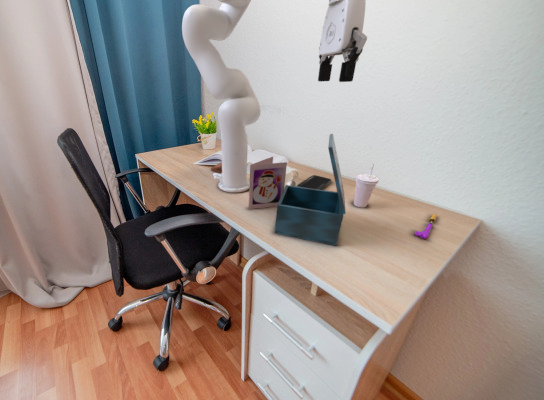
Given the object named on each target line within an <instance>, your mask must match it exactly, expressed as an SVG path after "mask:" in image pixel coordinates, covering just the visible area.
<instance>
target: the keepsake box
mask: <svg viewBox="0 0 544 400" xmlns="http://www.w3.org/2000/svg"><path fill="white" fill-rule="evenodd" d="M275 213H276V215H275V225H274V234H277V235H282V236H286V237H291V238H296V239H301V240H306V241H311V242H314V243H320V244H325V245H330V246H335V247H337V244H338V240H339V236H340V232H341V228H342V225H343V224H342V223H343V219H344V214H343V215H342V212H341V208H340V203H339V198H338V193H337V191H332V190H325V189H322V190H319V189H312V188H304V187H297V185H296V186H295V185H289V184H285V185H284V191H283V193H282V195H281V198H280V200H279V202H278V204H277V206H276V212H275Z"/></svg>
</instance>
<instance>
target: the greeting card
mask: <svg viewBox="0 0 544 400" xmlns="http://www.w3.org/2000/svg"><path fill="white" fill-rule="evenodd" d="M287 167H288V161H287V162H274V156H270V157H268V158H265V159H262V160H260V161H256V162H254V163H252V164H249V181H250V186H249V189H248V194H249V195H248V210H251V209H263V208H273V207H277V204H278V202H279V200H280V198H281V195H282V193H283V191H284V189H285V186H286V184H285V183H286V176H287V175H286V174H287Z"/></svg>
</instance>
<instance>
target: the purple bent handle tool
mask: <svg viewBox="0 0 544 400" xmlns="http://www.w3.org/2000/svg"><path fill="white" fill-rule="evenodd" d="M436 219H437V214H432V215H431V217H430V219H429V223H427V225H426V227H425V229H424V230H422V231H418V230H416V231H415V232H414V236H415V237H420V239H424V240H426V239H428V237H429V236H430V232H431V229H432V228H433V223H435V222H436Z"/></svg>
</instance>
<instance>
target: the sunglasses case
mask: <svg viewBox="0 0 544 400" xmlns="http://www.w3.org/2000/svg"><path fill="white" fill-rule="evenodd" d="M210 169H211V170H212V171H213V172H214V173H219V174H221V173H222V161H221V162H219V163H217V164H215V165H213V166H212V167H211V168H210Z"/></svg>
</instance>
